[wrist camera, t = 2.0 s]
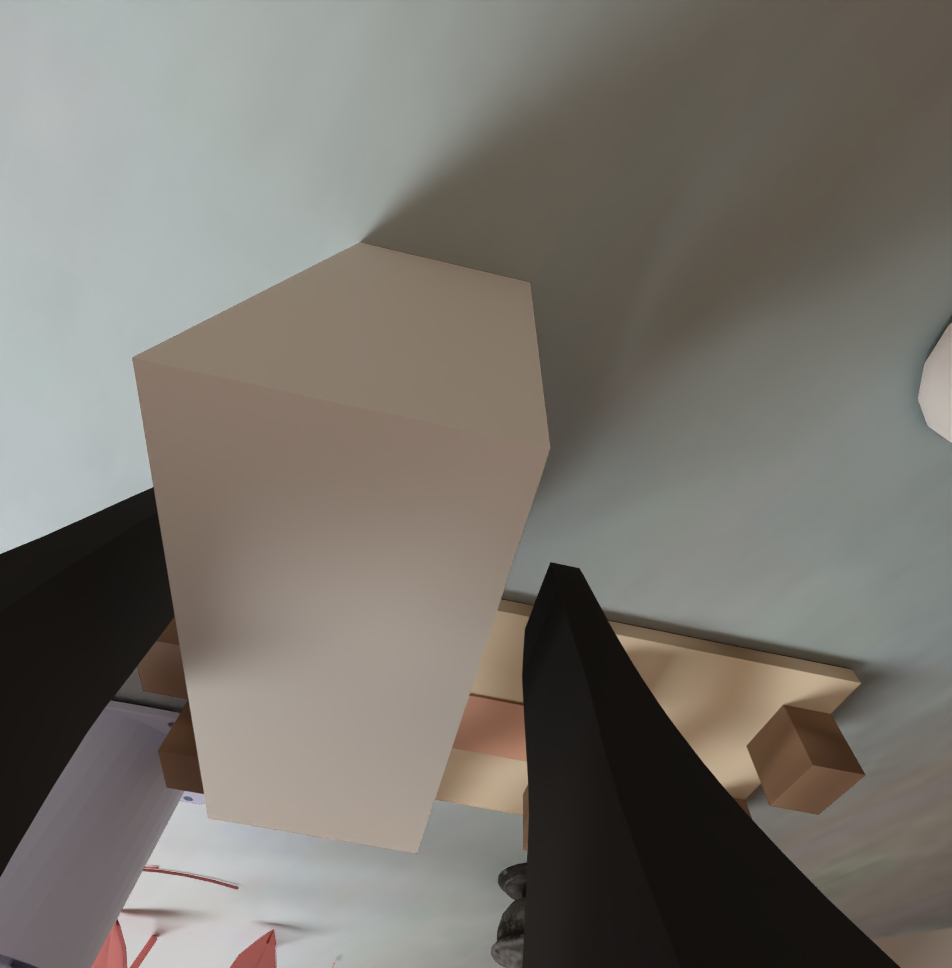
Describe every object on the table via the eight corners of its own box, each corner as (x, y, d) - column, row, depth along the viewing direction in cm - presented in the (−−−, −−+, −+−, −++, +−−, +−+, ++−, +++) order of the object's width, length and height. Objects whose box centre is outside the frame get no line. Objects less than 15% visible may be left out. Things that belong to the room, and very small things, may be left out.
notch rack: (205, 746, 26) (171, 809, 23) (174, 533, 18) (119, 593, 16) (695, 833, 27) (713, 902, 25) (852, 669, 20) (902, 744, 17)
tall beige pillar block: (337, 543, 18) (208, 818, 11) (360, 242, 13) (132, 357, 5) (462, 568, 18) (424, 854, 11) (535, 283, 13) (565, 452, 5)
